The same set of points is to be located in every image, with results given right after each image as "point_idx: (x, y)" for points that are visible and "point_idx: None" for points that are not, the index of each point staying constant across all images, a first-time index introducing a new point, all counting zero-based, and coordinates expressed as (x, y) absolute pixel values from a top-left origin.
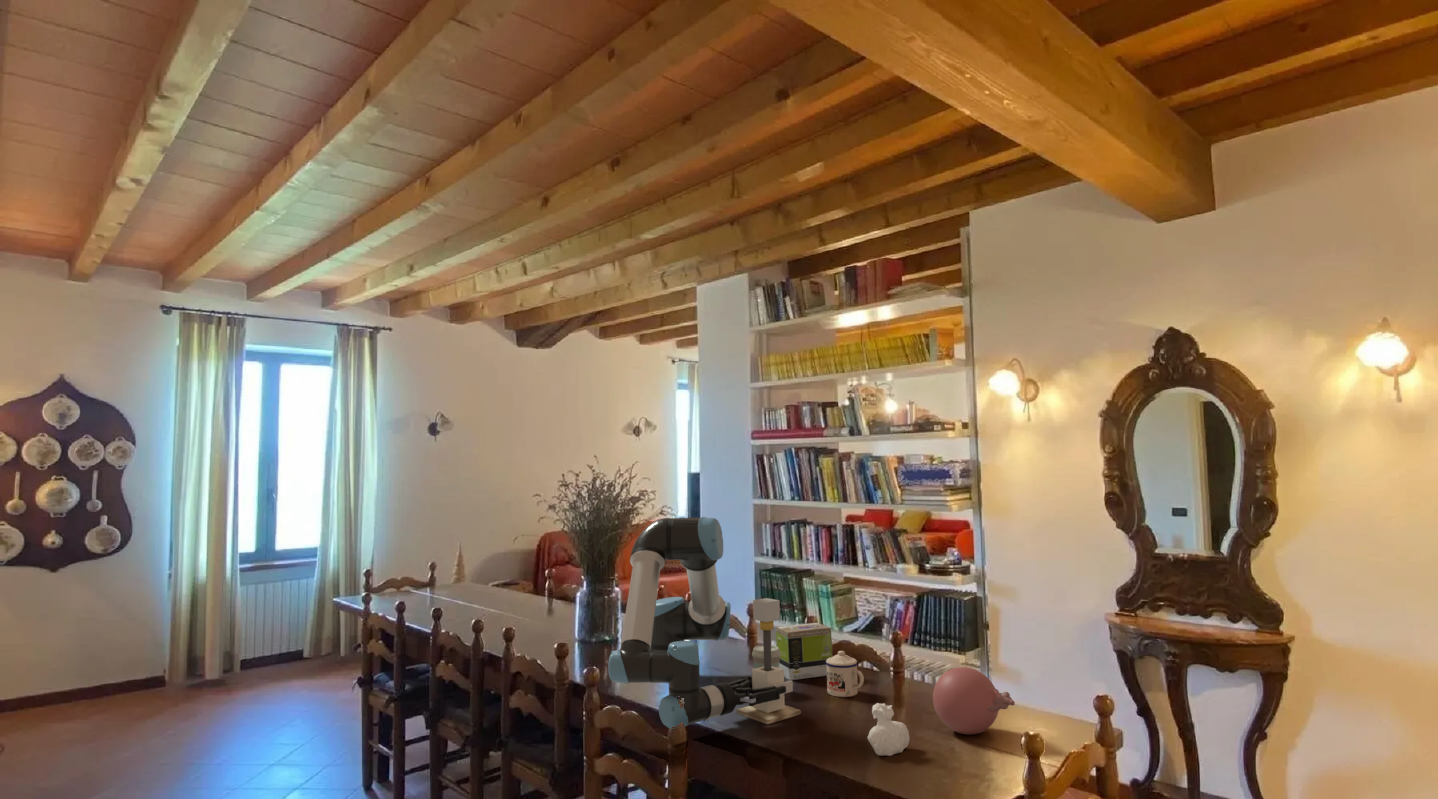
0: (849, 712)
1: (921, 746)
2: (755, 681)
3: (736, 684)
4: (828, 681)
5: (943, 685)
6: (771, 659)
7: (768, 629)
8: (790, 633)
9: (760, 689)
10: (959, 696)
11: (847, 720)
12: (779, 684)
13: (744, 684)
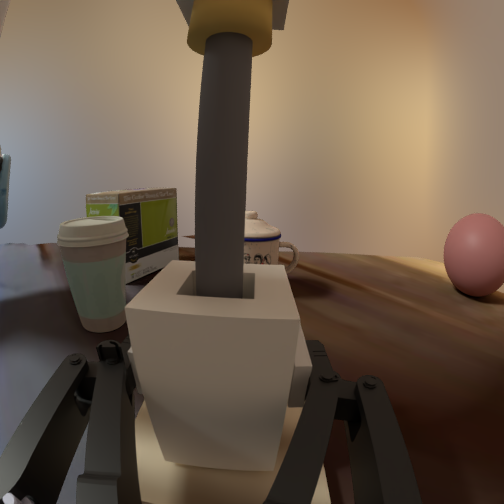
0: (353, 327)
1: None
2: (168, 377)
3: (87, 491)
4: None
5: (498, 238)
6: (114, 245)
7: (267, 29)
8: (123, 195)
9: (321, 454)
10: None
11: (398, 348)
12: (305, 345)
13: (121, 434)
